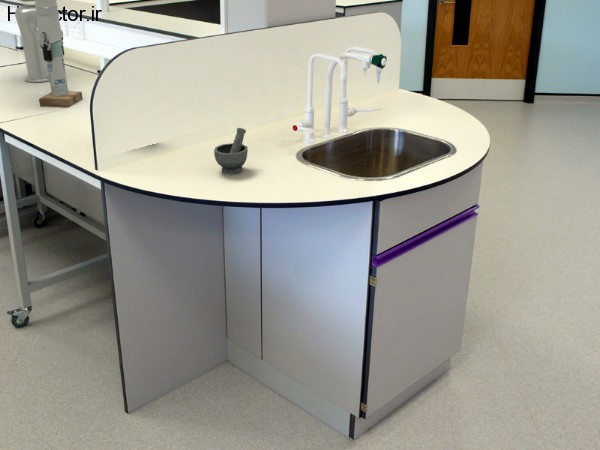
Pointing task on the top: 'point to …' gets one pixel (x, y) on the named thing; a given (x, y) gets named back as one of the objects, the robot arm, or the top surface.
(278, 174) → the top surface
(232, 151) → the mortar and pestle
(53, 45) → the pale blue bottle
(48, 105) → the square brown tray
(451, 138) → the top surface
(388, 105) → the top surface
